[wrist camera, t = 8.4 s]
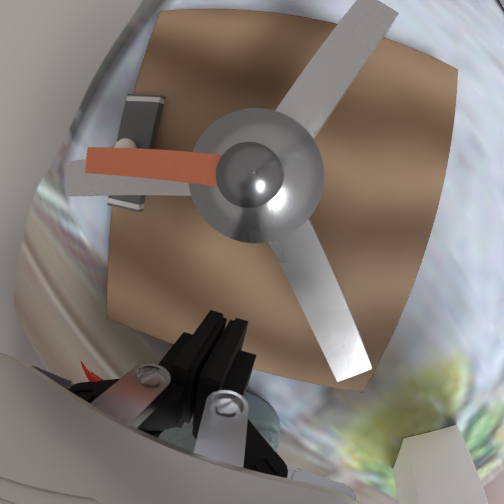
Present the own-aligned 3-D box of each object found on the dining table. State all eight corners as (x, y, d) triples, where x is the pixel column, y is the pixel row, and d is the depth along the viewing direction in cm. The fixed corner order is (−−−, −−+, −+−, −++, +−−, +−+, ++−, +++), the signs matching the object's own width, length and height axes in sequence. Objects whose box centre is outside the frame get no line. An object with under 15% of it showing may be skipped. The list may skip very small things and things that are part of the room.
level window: (132, 96, 15) (127, 94, 14) (165, 97, 15) (160, 94, 14) (112, 203, 17) (107, 204, 16) (143, 211, 17) (138, 212, 16)
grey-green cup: (312, 425, 21) (304, 551, 9) (237, 464, 24) (208, 559, 12) (216, 357, 20) (149, 491, 9) (155, 410, 23) (95, 504, 12)
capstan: (99, 169, 16) (21, 174, 10) (364, 24, 11) (390, -42, 5) (216, 379, 18) (184, 449, 12) (474, 271, 14) (536, 315, 8)
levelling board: (170, 20, 15) (160, 11, 13) (447, 76, 13) (457, 69, 11) (118, 309, 21) (107, 318, 19) (359, 378, 19) (362, 392, 17)
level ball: (124, 138, 15) (110, 136, 14) (143, 140, 15) (130, 138, 14) (119, 161, 16) (106, 160, 14) (138, 164, 15) (125, 163, 14)
